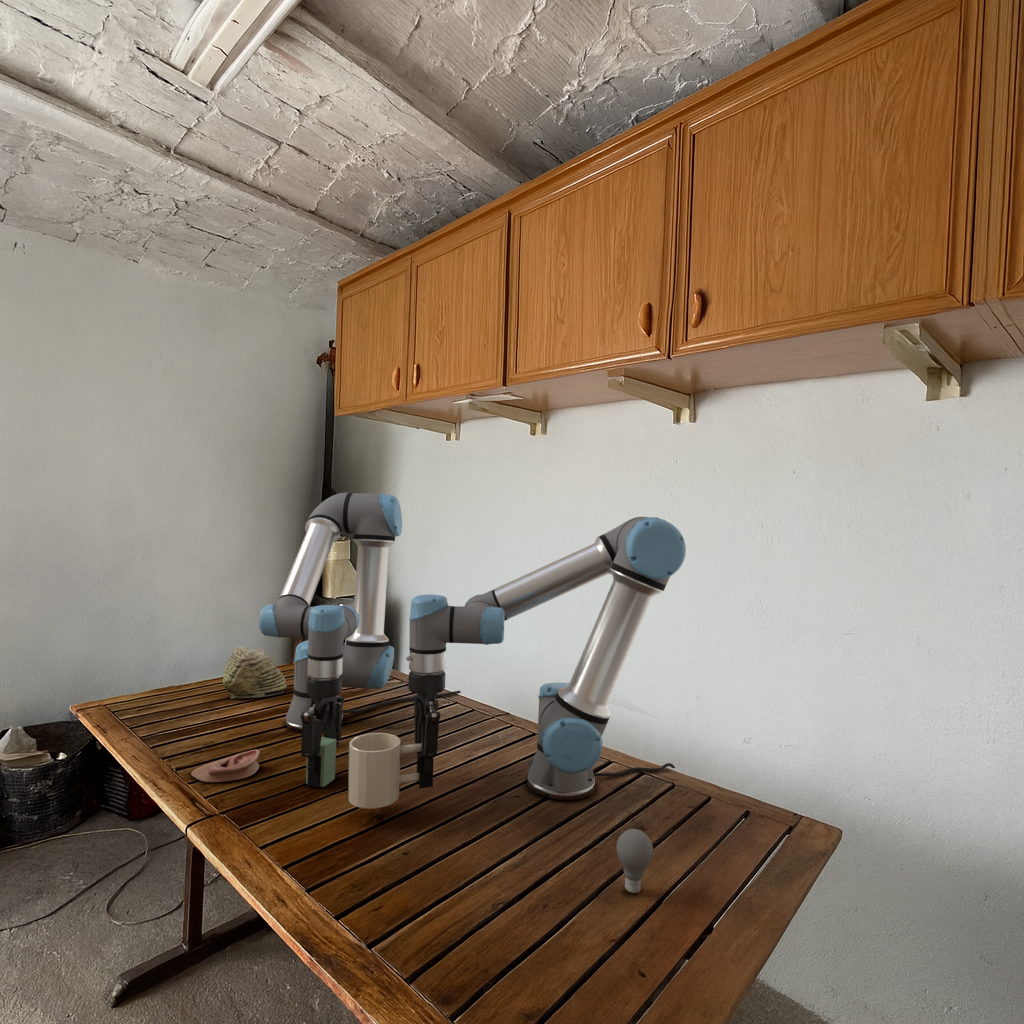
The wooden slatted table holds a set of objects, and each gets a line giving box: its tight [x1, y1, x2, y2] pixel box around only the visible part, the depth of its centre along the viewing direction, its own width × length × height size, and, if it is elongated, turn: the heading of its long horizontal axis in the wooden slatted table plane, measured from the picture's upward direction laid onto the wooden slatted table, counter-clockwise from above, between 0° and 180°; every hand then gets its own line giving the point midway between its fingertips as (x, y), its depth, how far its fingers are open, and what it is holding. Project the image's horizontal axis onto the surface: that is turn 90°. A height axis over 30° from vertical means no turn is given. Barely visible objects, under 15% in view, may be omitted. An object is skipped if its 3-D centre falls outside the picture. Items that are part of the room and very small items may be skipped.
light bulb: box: [615, 828, 654, 894], centre depth 106 cm, size 6×6×10 cm
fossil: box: [222, 646, 288, 699], centre depth 198 cm, size 9×18×15 cm, turn 132°
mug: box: [347, 732, 421, 809], centre depth 128 cm, size 16×10×11 cm, turn 111°
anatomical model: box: [190, 748, 261, 783], centre depth 143 cm, size 13×4×12 cm
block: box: [305, 736, 337, 788], centre depth 141 cm, size 4×4×9 cm
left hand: (320, 780), depth 141 cm, fingers closed on block, 4 cm apart
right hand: (424, 784), depth 131 cm, fingers closed on mug, 2 cm apart
